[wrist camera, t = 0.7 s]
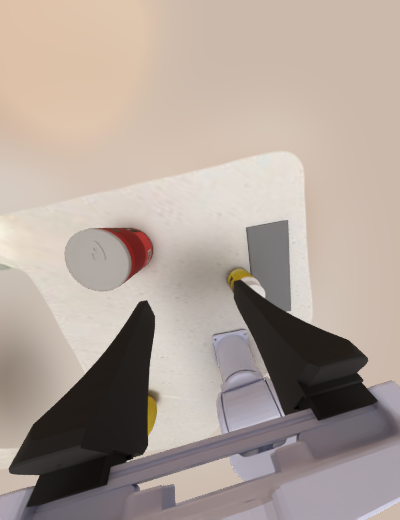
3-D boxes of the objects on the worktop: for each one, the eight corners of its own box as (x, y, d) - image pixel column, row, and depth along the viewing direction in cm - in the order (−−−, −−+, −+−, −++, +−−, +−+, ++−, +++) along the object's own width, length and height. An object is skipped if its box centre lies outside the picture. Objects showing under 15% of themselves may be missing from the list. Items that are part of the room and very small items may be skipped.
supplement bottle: (223, 270, 30) (235, 286, 21) (245, 264, 30) (265, 278, 21) (229, 290, 31) (242, 313, 23) (250, 284, 31) (270, 305, 22)
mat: (289, 309, 32) (290, 310, 32) (255, 315, 32) (256, 317, 32) (286, 220, 28) (288, 220, 27) (246, 227, 28) (247, 227, 27)
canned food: (141, 221, 27) (106, 217, 16) (161, 258, 29) (141, 278, 18) (105, 237, 27) (48, 244, 16) (127, 273, 29) (88, 301, 18)
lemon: (148, 407, 37) (136, 454, 30) (134, 395, 36) (117, 440, 29) (164, 397, 37) (156, 442, 29) (150, 384, 36) (138, 428, 28)
